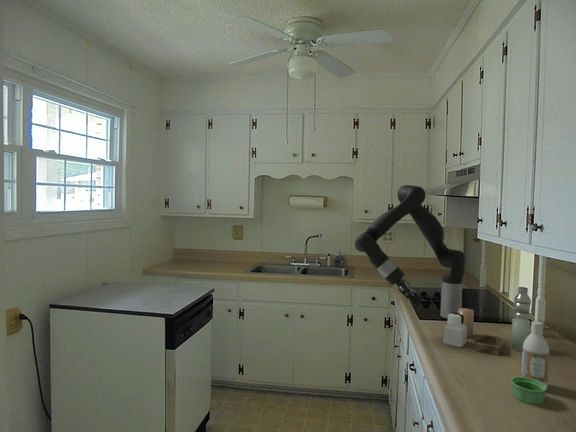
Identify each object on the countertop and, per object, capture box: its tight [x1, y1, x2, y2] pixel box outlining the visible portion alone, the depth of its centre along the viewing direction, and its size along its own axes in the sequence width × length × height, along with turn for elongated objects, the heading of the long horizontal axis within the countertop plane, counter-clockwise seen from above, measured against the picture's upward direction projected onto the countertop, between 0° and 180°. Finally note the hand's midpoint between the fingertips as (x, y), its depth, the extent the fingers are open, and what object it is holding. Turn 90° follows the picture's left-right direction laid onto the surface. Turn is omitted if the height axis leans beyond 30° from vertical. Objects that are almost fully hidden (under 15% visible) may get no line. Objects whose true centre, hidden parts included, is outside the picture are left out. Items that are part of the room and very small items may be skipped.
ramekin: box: [510, 376, 548, 406], centre depth 115 cm, size 9×9×4 cm
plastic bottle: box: [513, 286, 532, 321], centre depth 171 cm, size 6×7×20 cm
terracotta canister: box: [458, 307, 475, 339], centre depth 167 cm, size 6×6×11 cm
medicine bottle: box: [442, 312, 468, 348], centre depth 158 cm, size 7×7×12 cm
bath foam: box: [521, 320, 550, 388], centre depth 123 cm, size 7×7×20 cm
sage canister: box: [510, 317, 531, 352], centre depth 154 cm, size 6×6×11 cm
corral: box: [474, 333, 504, 357], centre depth 154 cm, size 9×13×3 cm, turn 158°
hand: (419, 302), depth 163 cm, fingers open, 5 cm apart
